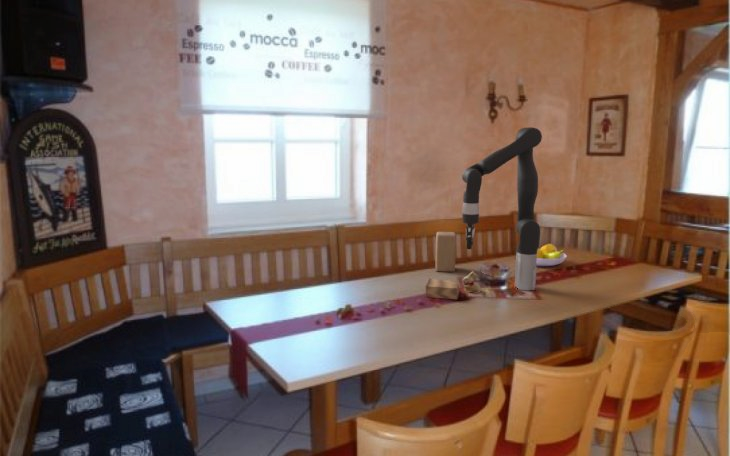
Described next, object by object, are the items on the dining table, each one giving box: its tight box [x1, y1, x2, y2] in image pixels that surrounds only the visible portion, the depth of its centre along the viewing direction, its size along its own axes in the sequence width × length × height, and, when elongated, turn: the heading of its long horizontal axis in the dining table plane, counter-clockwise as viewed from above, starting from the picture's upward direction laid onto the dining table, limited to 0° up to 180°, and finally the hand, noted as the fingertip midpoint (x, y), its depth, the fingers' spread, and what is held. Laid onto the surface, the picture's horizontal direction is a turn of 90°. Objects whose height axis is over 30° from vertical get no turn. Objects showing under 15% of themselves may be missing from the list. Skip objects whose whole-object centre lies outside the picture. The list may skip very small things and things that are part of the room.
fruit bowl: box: [536, 243, 568, 267], centre depth 295 cm, size 28×27×11 cm
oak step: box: [425, 277, 460, 300], centre depth 239 cm, size 14×12×5 cm
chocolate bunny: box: [462, 270, 483, 293], centre depth 244 cm, size 6×8×10 cm
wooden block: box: [435, 231, 457, 273], centre depth 281 cm, size 10×10×20 cm
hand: (469, 247), depth 243 cm, fingers open, 8 cm apart
